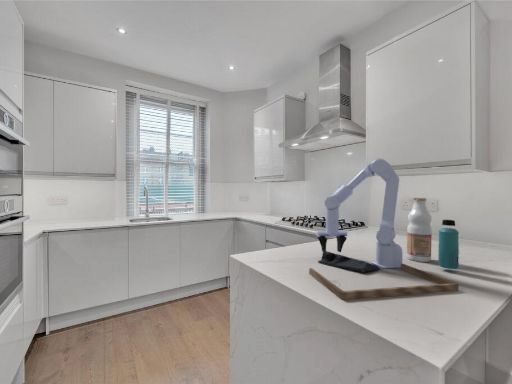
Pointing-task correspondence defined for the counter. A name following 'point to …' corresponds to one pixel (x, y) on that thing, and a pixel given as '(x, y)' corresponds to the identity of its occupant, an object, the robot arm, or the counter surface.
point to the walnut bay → (368, 293)
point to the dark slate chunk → (346, 262)
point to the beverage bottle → (448, 246)
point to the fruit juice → (419, 232)
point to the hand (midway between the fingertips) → (331, 252)
